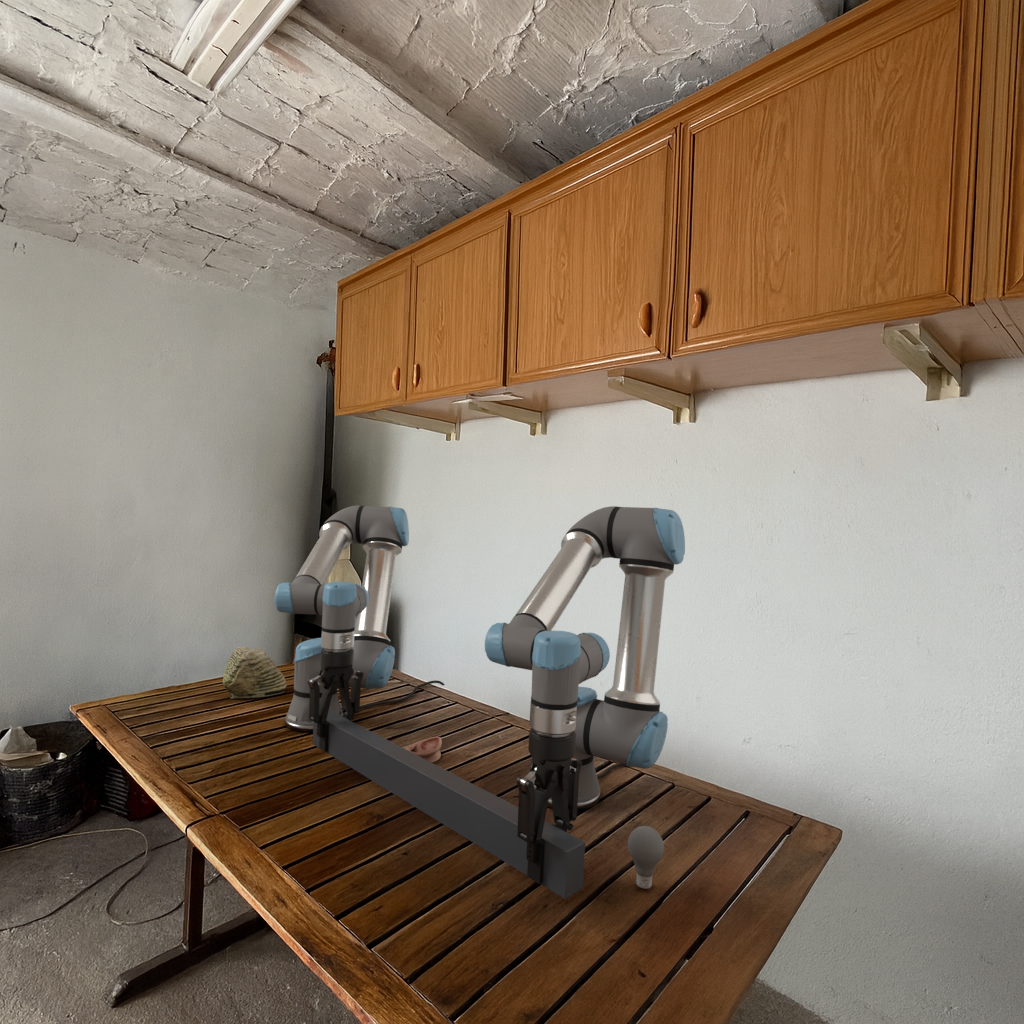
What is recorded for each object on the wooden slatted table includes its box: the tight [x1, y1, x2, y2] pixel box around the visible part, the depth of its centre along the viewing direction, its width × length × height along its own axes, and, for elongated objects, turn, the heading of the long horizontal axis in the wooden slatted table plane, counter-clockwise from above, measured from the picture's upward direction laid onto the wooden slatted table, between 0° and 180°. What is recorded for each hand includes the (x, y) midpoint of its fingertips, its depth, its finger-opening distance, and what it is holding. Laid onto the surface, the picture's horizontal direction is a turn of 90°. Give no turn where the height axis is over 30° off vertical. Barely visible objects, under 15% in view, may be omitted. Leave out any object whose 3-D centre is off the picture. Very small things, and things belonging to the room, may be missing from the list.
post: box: [312, 711, 586, 900], centre depth 125 cm, size 79×4×7 cm, turn 45°
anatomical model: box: [401, 736, 443, 763], centre depth 156 cm, size 13×4×12 cm
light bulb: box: [627, 825, 665, 890], centre depth 107 cm, size 6×6×10 cm
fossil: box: [222, 646, 288, 699], centre depth 198 cm, size 9×18×15 cm, turn 132°
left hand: (333, 746), depth 149 cm, fingers closed on post, 4 cm apart
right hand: (545, 873), depth 102 cm, fingers closed on post, 4 cm apart
